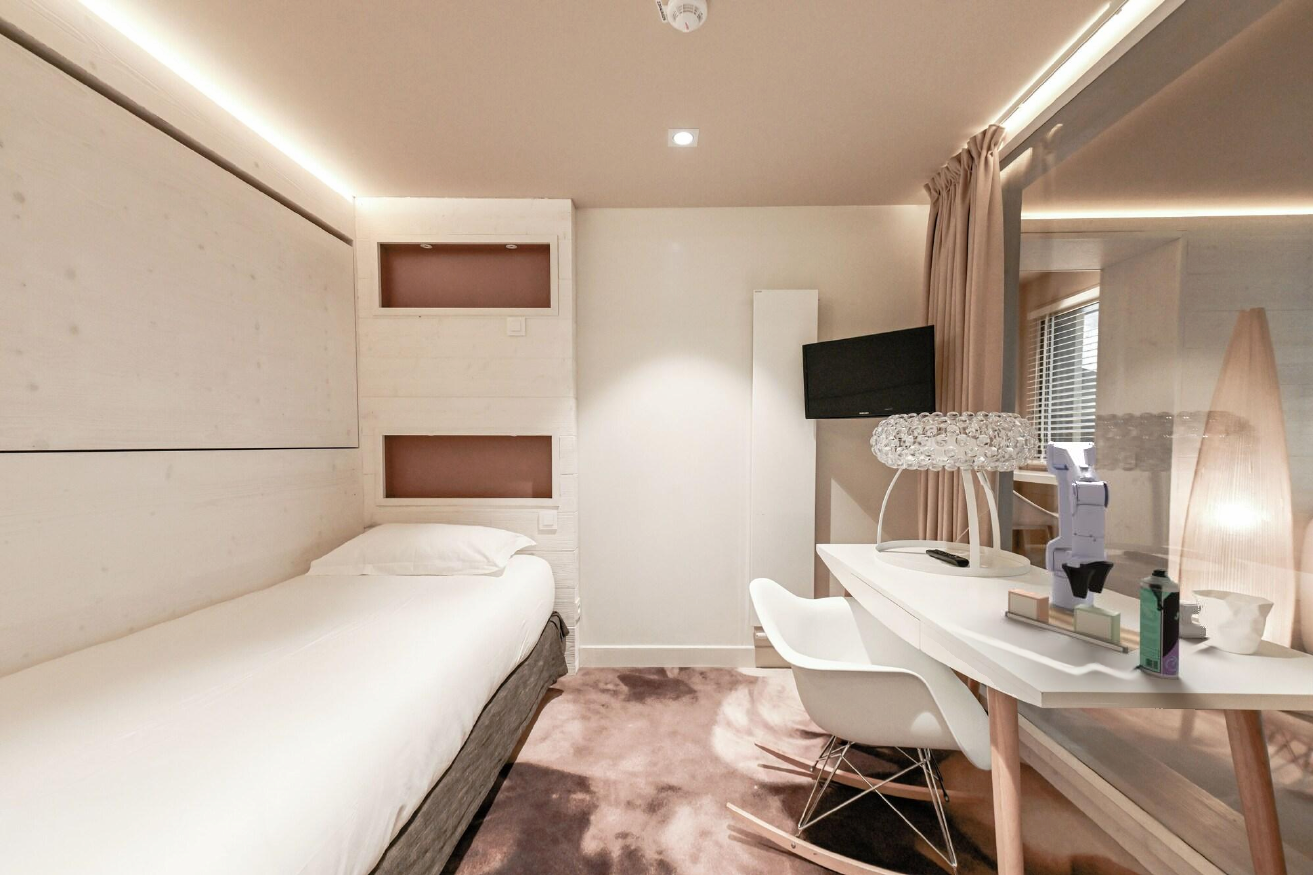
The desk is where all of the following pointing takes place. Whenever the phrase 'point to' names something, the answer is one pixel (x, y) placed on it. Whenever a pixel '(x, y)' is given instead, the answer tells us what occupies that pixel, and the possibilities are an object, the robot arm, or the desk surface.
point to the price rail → (1068, 632)
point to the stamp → (1190, 621)
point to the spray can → (1159, 625)
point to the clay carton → (1029, 604)
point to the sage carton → (1097, 622)
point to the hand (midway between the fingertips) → (1087, 594)
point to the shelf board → (1067, 621)
